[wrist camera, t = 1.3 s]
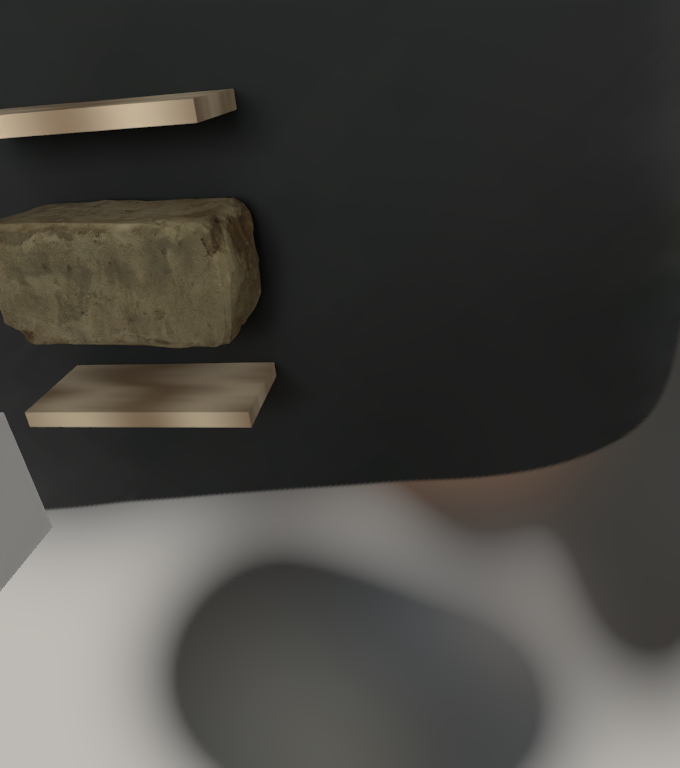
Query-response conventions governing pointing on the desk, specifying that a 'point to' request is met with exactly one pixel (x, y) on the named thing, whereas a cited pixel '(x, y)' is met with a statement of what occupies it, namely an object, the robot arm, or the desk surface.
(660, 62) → the desk surface
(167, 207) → the stone block
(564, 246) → the desk surface
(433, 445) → the desk surface
